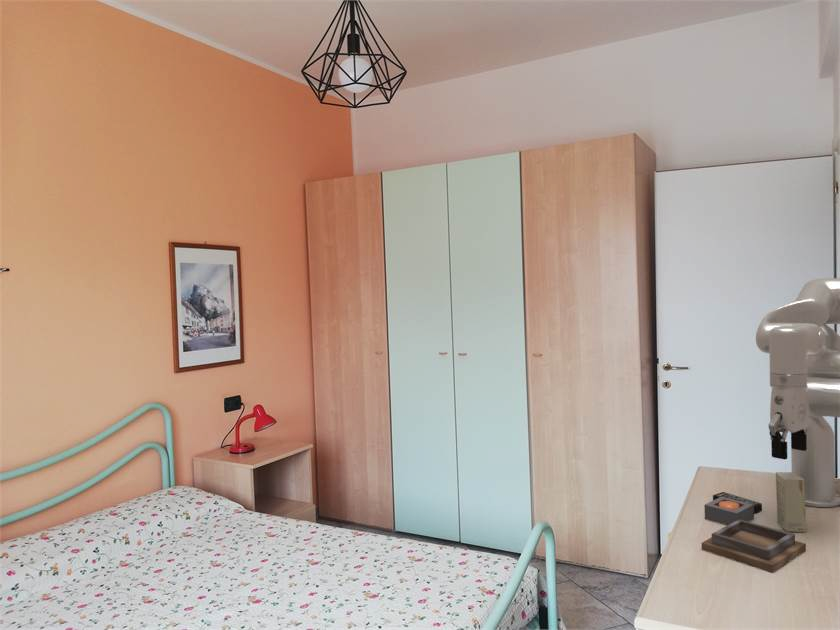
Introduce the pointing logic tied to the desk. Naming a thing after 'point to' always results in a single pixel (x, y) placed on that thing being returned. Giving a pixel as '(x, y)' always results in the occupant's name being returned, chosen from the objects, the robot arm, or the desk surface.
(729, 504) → the button
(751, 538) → the square wooden tray
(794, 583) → the desk surface
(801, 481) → the skincare box
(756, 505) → the multiport hub
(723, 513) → the button housing
